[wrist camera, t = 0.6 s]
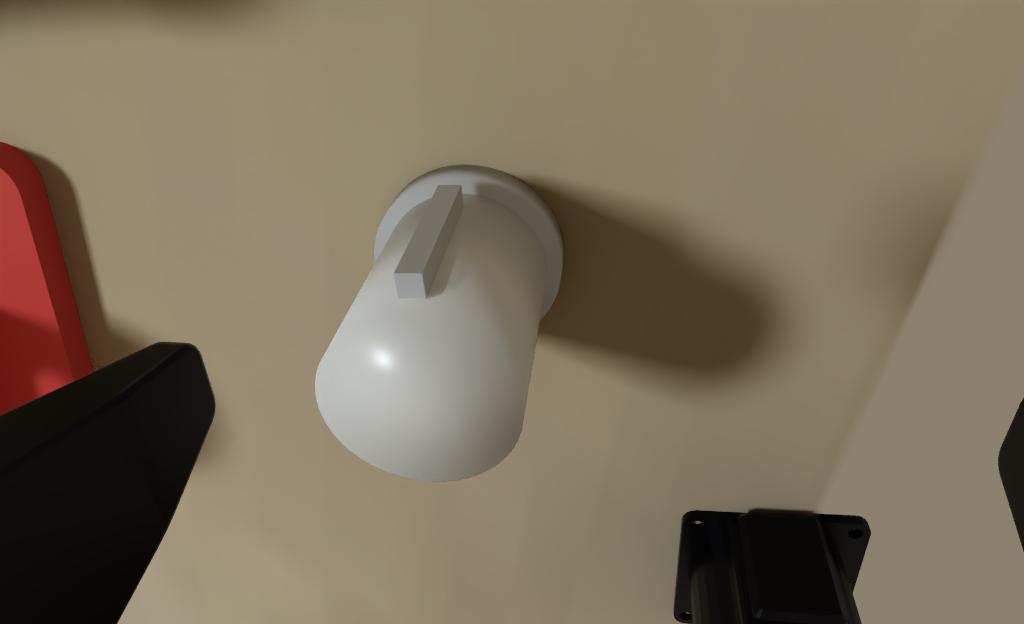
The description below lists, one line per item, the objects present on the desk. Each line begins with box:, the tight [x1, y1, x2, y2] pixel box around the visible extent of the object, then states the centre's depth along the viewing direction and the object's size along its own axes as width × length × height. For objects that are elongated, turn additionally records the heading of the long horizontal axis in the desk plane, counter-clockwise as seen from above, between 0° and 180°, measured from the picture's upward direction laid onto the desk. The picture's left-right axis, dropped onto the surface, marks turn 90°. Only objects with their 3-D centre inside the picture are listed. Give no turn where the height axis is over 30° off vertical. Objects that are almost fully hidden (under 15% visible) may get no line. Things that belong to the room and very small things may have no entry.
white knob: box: [315, 165, 564, 482], centre depth 19 cm, size 6×5×7 cm
